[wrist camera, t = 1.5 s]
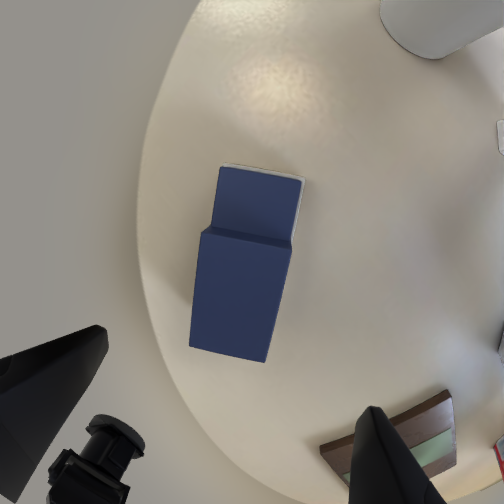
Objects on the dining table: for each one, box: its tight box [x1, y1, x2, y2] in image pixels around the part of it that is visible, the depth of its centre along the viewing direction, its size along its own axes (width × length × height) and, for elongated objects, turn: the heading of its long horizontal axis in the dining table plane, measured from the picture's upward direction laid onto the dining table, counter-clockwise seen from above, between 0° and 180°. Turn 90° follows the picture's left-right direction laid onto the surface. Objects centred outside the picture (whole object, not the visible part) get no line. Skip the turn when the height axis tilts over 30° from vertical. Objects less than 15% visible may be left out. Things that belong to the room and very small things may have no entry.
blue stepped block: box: [189, 163, 305, 363], centre depth 17 cm, size 11×5×5 cm, turn 170°
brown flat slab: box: [320, 390, 456, 487], centre depth 24 cm, size 14×18×1 cm
